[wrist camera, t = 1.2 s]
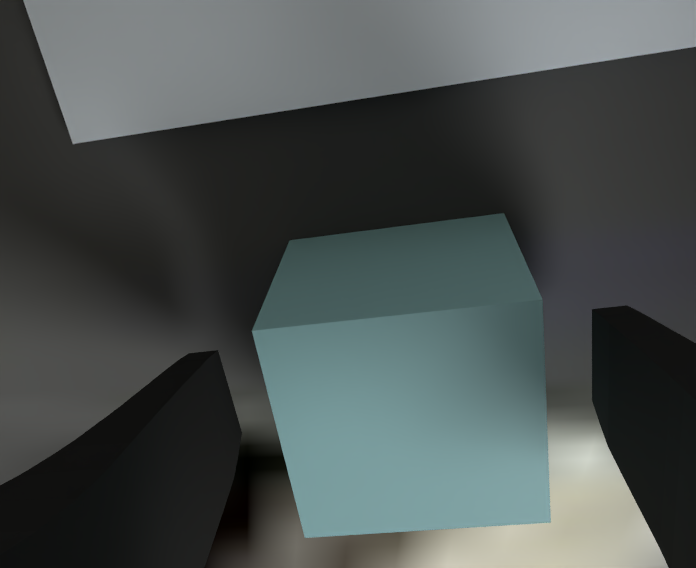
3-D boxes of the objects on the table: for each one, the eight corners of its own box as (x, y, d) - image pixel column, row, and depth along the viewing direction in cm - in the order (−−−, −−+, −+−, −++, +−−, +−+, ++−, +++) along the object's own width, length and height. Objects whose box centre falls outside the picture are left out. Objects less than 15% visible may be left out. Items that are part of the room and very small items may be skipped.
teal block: (503, 211, 13) (542, 299, 10) (514, 391, 15) (550, 522, 11) (290, 238, 14) (252, 330, 10) (326, 408, 16) (304, 537, 12)
